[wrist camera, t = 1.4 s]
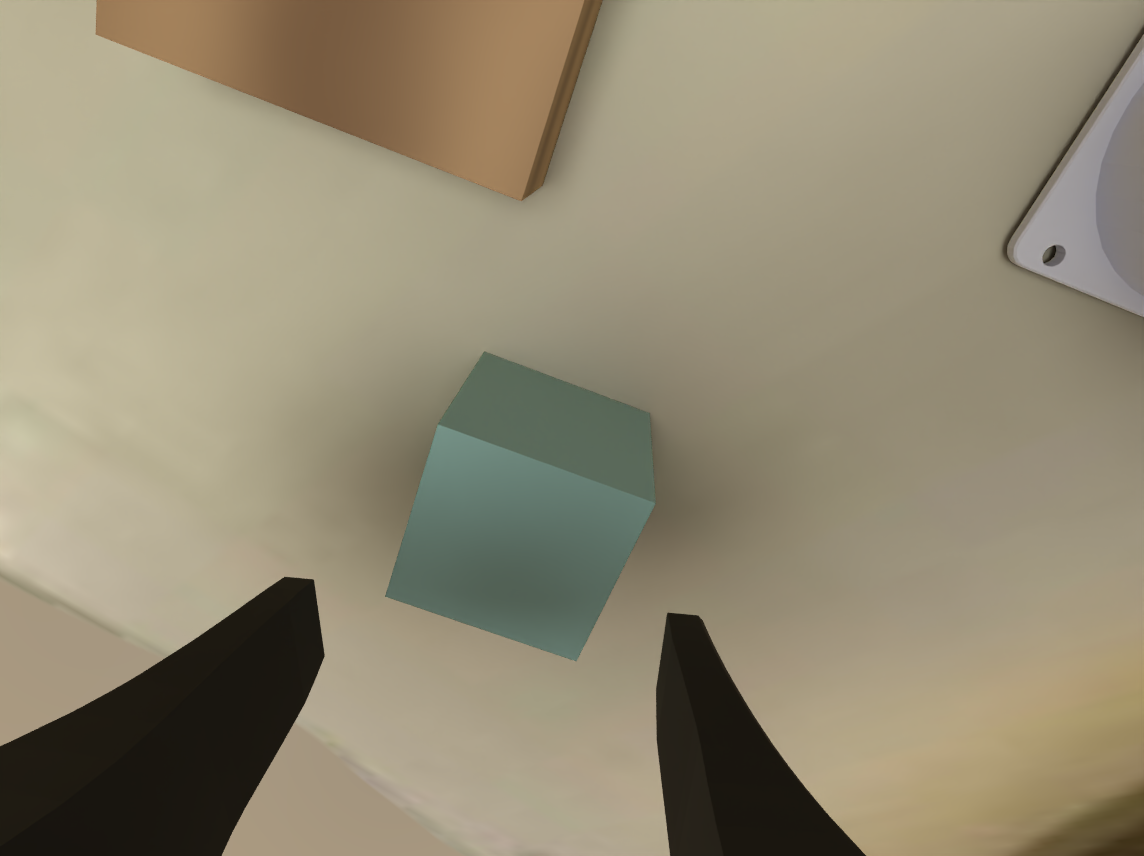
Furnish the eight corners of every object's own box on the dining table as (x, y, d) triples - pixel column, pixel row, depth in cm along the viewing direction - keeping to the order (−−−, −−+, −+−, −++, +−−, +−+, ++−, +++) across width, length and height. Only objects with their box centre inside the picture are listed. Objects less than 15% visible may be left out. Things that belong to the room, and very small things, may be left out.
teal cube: (649, 412, 20) (655, 503, 15) (587, 545, 22) (576, 661, 17) (485, 350, 19) (437, 424, 15) (438, 492, 21) (385, 596, 17)
